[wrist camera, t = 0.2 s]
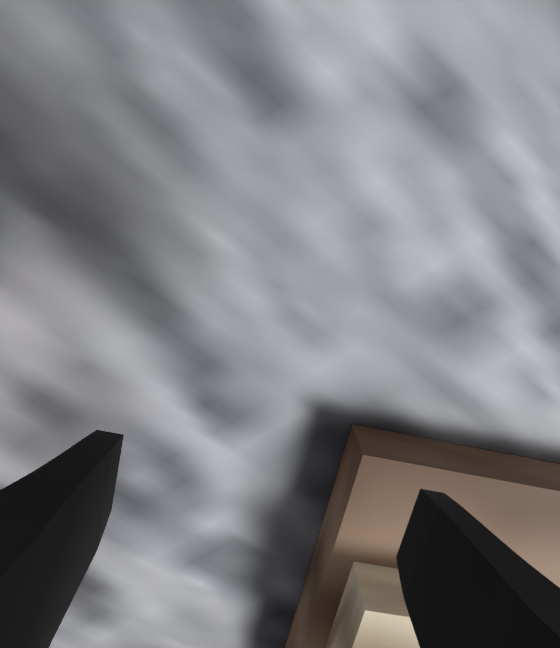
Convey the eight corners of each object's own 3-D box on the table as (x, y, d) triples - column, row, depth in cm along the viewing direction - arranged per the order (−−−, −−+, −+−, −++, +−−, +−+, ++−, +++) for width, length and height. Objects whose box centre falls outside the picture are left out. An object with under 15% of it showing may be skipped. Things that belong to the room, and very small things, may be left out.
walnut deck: (501, 723, 29) (524, 774, 26) (271, 692, 27) (272, 743, 25) (621, 475, 24) (661, 510, 22) (352, 423, 23) (363, 454, 20)
